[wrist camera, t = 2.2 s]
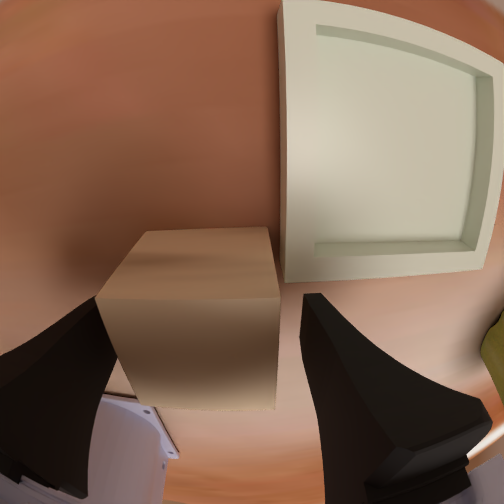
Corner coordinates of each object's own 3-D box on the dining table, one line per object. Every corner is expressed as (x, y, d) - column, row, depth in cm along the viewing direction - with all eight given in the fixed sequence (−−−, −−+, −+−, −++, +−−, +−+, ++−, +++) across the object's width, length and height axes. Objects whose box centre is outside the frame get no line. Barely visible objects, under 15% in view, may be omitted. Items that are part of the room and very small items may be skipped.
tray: (462, 253, 12) (482, 269, 10) (279, 260, 12) (284, 282, 10) (479, 64, 8) (503, 63, 6) (276, 15, 8) (282, -3, 6)
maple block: (267, 323, 14) (274, 409, 9) (166, 324, 14) (141, 405, 9) (267, 225, 11) (280, 297, 7) (146, 230, 11) (94, 298, 7)
